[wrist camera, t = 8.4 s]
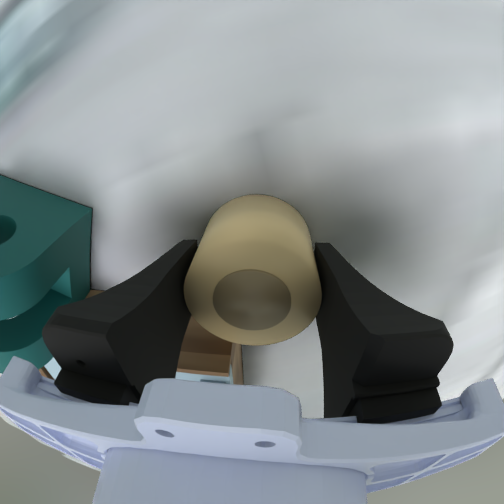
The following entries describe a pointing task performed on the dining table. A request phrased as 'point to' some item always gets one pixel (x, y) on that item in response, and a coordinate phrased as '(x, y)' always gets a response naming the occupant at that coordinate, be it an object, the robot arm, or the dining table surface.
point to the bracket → (38, 266)
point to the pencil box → (201, 353)
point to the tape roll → (254, 273)
